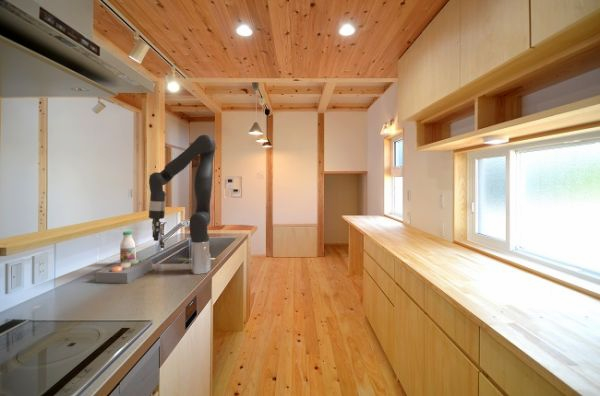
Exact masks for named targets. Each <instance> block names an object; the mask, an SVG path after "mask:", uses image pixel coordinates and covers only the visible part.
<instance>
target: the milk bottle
mask: <svg viewBox="0 0 600 396" xmlns="http://www.w3.org/2000/svg"><path fill="white" fill-rule="evenodd" d="M122 236H123V238H122V240H121V243H120V246H119V247H120V248H119V253H120V254H119V255H120V257H119V259H120V261H119V262H122V261H124V260H131V259H137V257H136V256H137V254H136V249H137V248H136V243H135V241H134V239H133V231H131V230H128V231H123V232H122Z"/></svg>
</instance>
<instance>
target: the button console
mask: <svg viewBox="0 0 600 396" xmlns="http://www.w3.org/2000/svg"><path fill="white" fill-rule="evenodd" d="M125 262H129V260H124V261H122V262H120V261H119V262H117V263H115V264H112V265H110V266H107V267H105V268H102V269H101V270H98V271H96V272H94V273H95V274H94V275H95V283H101V284H103V283H105V284H129V283H130V282H133V281H134V280H136V279H139V278H140V277H141V276H143V275H145V274H147V273H149V272H151V271H152V270H153V269H154V267H153V260H141V259H140V260H139V263H137V264H131V266H130V267H128V268H122V271H119V272H112V267H115V266H121V263H125Z"/></svg>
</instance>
